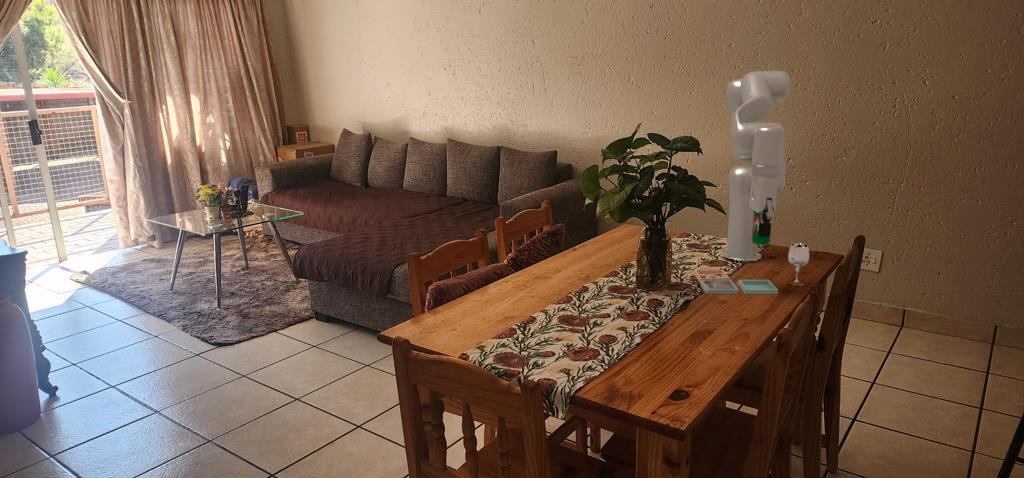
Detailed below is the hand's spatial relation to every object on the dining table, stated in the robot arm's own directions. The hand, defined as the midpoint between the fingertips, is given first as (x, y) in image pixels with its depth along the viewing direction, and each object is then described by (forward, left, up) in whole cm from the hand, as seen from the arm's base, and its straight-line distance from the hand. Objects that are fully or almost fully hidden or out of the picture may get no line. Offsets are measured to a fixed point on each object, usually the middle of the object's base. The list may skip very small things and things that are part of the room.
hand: (761, 233), depth 188 cm
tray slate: (0, -11, -17) cm, 20 cm away
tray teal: (0, 0, -17) cm, 17 cm away
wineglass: (-6, +13, -17) cm, 23 cm away
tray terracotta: (-10, -11, -17) cm, 23 cm away
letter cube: (0, -11, -17) cm, 20 cm away
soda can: (0, 0, -3) cm, 3 cm away
